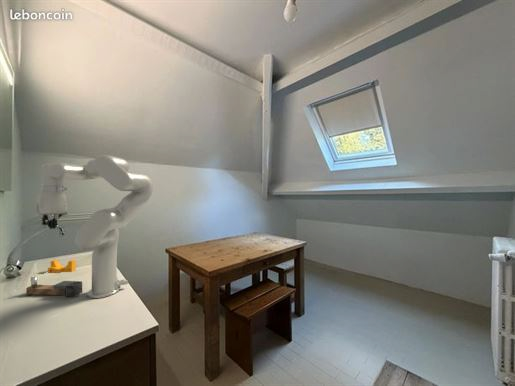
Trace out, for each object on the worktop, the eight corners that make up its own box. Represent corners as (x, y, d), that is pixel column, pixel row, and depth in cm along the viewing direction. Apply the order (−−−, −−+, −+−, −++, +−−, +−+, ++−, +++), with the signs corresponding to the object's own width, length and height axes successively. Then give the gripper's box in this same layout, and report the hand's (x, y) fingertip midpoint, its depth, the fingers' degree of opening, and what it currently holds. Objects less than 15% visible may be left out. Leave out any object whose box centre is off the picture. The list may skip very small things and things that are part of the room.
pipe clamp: (47, 273, 124) (47, 262, 124) (54, 270, 128) (54, 259, 128) (69, 273, 124) (69, 262, 124) (75, 270, 128) (75, 259, 128)
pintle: (37, 284, 101) (37, 276, 101) (36, 286, 99) (36, 277, 99) (31, 286, 100) (31, 277, 100) (30, 287, 98) (30, 278, 98)
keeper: (53, 296, 96) (53, 285, 96) (64, 291, 101) (64, 280, 101) (72, 297, 96) (72, 286, 96) (82, 292, 101) (82, 281, 101)
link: (22, 294, 97) (22, 289, 97) (34, 289, 102) (34, 284, 102) (63, 295, 97) (63, 289, 97) (73, 290, 102) (73, 285, 102)
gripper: (69, 190, 112) (69, 225, 112) (28, 189, 100) (28, 229, 100) (75, 190, 108) (75, 227, 108) (32, 189, 95) (32, 231, 96)
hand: (52, 228), depth 104 cm, fingers closed
